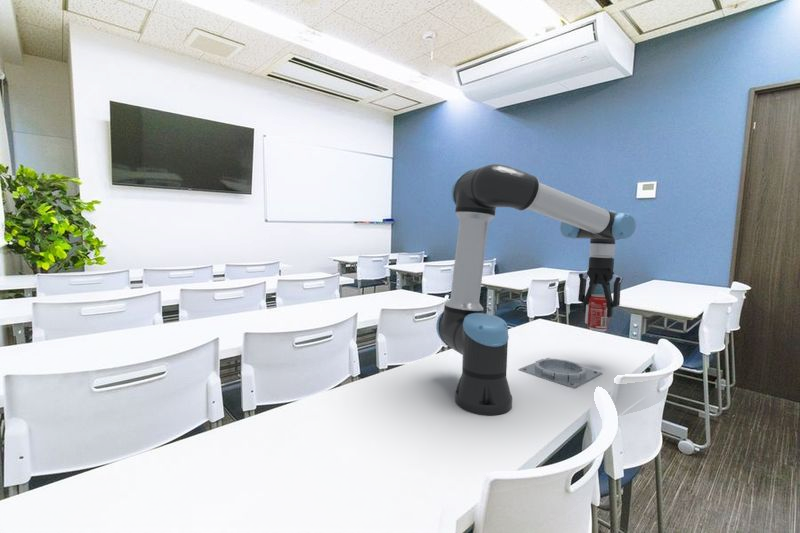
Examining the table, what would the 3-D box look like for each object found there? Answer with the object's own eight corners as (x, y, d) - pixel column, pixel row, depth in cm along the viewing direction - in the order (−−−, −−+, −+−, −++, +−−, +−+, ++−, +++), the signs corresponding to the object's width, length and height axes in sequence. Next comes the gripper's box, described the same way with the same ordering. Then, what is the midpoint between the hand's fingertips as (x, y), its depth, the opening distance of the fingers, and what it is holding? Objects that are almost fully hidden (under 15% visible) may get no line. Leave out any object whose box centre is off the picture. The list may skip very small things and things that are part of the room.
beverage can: (603, 328, 135) (605, 294, 134) (611, 332, 129) (613, 296, 128) (584, 327, 136) (586, 293, 135) (591, 331, 129) (593, 296, 129)
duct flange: (574, 388, 114) (575, 381, 114) (518, 370, 129) (518, 364, 129) (601, 374, 127) (602, 368, 127) (547, 359, 141) (547, 353, 141)
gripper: (635, 258, 126) (630, 328, 128) (579, 255, 140) (575, 318, 142) (626, 258, 121) (621, 331, 123) (569, 255, 135) (565, 320, 137)
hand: (596, 324), depth 132 cm, fingers closed on beverage can, 5 cm apart
